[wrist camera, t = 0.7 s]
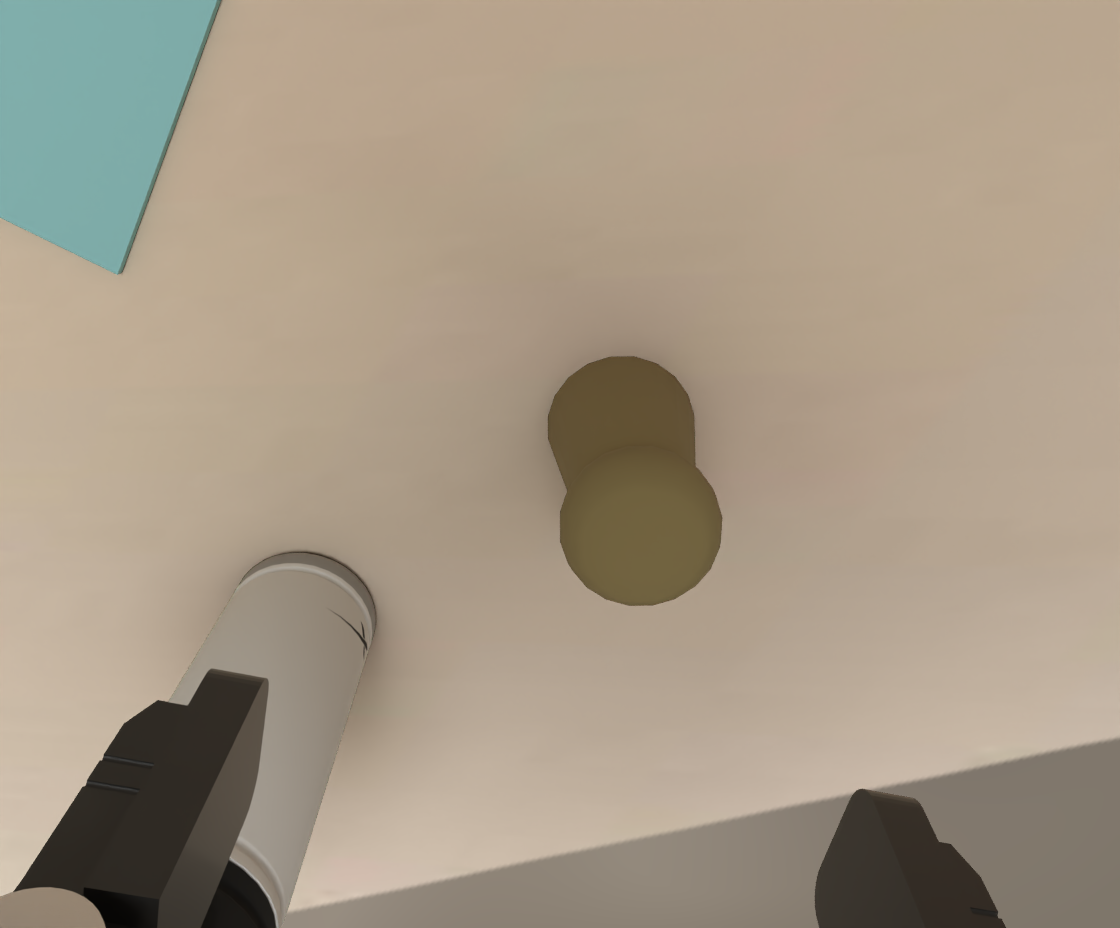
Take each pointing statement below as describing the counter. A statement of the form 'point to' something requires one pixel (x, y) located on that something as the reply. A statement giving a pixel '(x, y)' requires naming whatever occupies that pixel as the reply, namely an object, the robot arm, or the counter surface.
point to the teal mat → (91, 113)
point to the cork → (632, 483)
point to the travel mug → (286, 716)
